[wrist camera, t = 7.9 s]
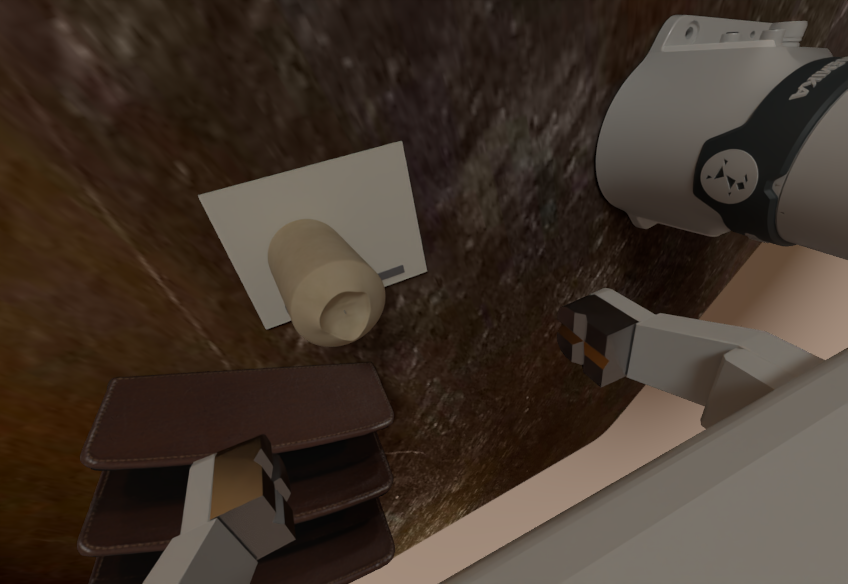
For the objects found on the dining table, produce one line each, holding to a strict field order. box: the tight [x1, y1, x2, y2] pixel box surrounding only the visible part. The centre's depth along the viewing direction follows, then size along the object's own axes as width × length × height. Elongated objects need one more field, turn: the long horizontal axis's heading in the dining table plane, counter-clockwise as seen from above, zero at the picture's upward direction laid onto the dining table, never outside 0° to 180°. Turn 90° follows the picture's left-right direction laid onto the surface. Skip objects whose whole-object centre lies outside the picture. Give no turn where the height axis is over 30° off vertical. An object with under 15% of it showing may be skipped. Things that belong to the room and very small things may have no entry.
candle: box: [268, 219, 385, 347], centre depth 24 cm, size 6×6×10 cm
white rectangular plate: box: [198, 141, 427, 330], centre depth 29 cm, size 14×11×1 cm
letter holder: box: [77, 362, 395, 584], centre depth 28 cm, size 10×20×14 cm, turn 78°
